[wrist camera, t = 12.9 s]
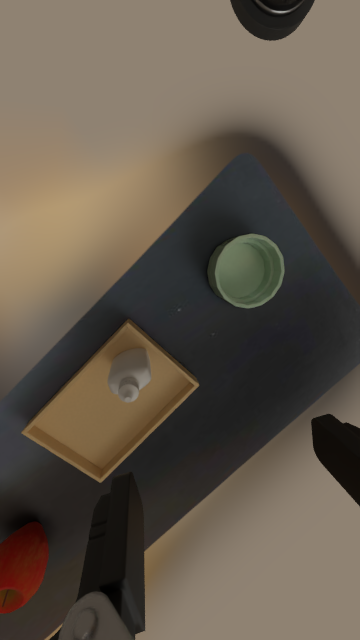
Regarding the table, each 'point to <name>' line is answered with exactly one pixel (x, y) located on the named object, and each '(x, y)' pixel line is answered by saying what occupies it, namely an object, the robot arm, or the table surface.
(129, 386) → the eye dropper bottle
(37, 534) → the apple
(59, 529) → the table surface
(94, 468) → the tray
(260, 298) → the bowl
